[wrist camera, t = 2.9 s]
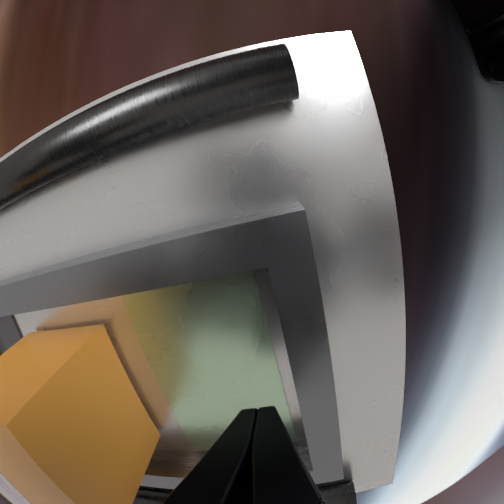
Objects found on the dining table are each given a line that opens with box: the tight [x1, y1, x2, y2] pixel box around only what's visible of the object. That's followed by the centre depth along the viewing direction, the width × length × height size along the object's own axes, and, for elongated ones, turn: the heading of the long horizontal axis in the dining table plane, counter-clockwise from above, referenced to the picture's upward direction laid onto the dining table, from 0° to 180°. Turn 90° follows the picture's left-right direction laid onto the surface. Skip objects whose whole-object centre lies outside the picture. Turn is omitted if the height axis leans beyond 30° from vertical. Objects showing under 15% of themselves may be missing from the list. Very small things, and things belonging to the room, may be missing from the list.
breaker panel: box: [0, 31, 406, 504], centre depth 10 cm, size 24×18×4 cm
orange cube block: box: [0, 324, 161, 504], centre depth 7 cm, size 4×5×5 cm
